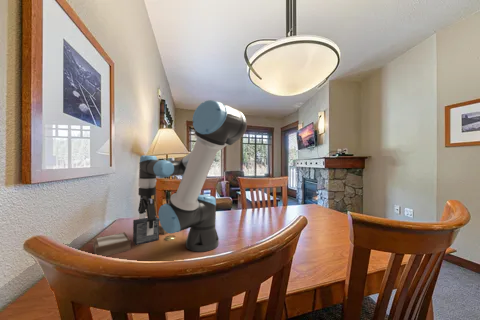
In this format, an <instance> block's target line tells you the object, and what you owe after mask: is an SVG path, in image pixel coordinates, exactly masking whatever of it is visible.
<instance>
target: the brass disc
mask: <svg viewBox="0 0 480 320" xmlns="http://www.w3.org/2000/svg"><path fill="white" fill-rule="evenodd" d="M176 239H177V238H176V235H174V234H172V235H171V234H169V235H165V237H164V240H165V241H168V242H169V241H174V240H176Z"/></svg>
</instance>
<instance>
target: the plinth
mask: <svg viewBox="0 0 480 320" xmlns="http://www.w3.org/2000/svg"><path fill="white" fill-rule="evenodd" d="M131 241H132V240H131V239H130V237H129V236H128V235H127V233H126V232H120V233H115V234H110V235H105V236H100V237H95V238H93V241H92V242H93V244H92V245H93V246H92V248H93V253H94V255H95V254H97V255H102V256H104V257H107V256H110V255H115V254H118V253H122V252H126V251H130V250H131Z"/></svg>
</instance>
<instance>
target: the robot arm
mask: <svg viewBox="0 0 480 320" xmlns="http://www.w3.org/2000/svg"><path fill="white" fill-rule="evenodd" d="M243 113H244V112H242V111H241V110H239V109H237V108H234V107H231V106H229V105H226V104H224V103H223V102H220V101H216V100H212V99H210V100H209V99H208V100H204V101H203V102H201V103H200V104H199V105H198V106H197V107H196V108H195V110H194V112H193V115H192V119H191V120H192V127H193V128H194V130H195V131H194V136H195V138H196V140H195V142H194V146H193V149H192V151H190V152H189V153H187V154H186V155H185V156H184V157H183V158H181V159H180V160H174V159H173V160H171V159H170V160H166V159H158V158H157V156H156V155H145V154H144V155H141V156H140V157H139V163H138V165H139V166H138V169H139V170H138V173H139V175H138V176H139V177H138V187H139V188H138V196H139V197H140V198H139V202H138V203H139V205H138V209H137V211H138V213H139V215H138V216H139V217H138V219H143V218H148V220H147V221H146V222H147V236H148V235H153V232H154V220H156V217H157V216H156V209H155V208H156V207H155V198H152V196H156V193H157V190H156V189H157V188H156V186H157V182H158V180H157V177H160V178H168V177H176V176H182V178H181V179H180V181H179V186H178V188H177V191H176V192H175V193H173V194H171V195H170V198H169V200H168V203H163V204H162V205H160V206H159V209H158V218H159V225H161V226H162V228H163V229H164V230H165V231H166V232H167V233H168V234H175V233H179V232H182V231H185V230H187V229H189V231H188V234H187V237H186V240H185V247H186V249H188V250H189V251H193V252H197V253H198V252H200V253H201V252H209V251H211V250H214V249H216V248H217V247H218V246H219V244H220V243H219V240H220V239H219V236H218V232H217V229H216V220H217V219H216V216H217V215H216V213H217V200H216V197H215V196H213V195H209V194H208V195H207V194H201V191H202V189H203V187H204V184H205V182H206V179H207V177H208V174H209V172H210V171H211V167H212V165H213V163H214V160H215V158H216V156H217V153H218V152H220V151H221V150H222V149H224V148H225V147H226V146H230V147H231V146H232V145H233V144H235V143H236V142H238V141H239V140H240V139H241V138H243V136H244V134H245V133H246V132H247V126H248V122H247V119H246V117H245V115H244V114H243Z"/></svg>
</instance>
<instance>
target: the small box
mask: <svg viewBox="0 0 480 320" xmlns="http://www.w3.org/2000/svg"><path fill="white" fill-rule="evenodd" d="M147 220H148V217H145V218H143V219H139V218H137V219H133V220H132V242H133V245H135V246H139V245H144V244H149V243H152V242H155V241H159V240H160V233H159V225H160V221H159V217H157V216H156V220H154V232H153V235H148V236H147V222H146V221H147Z"/></svg>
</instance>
